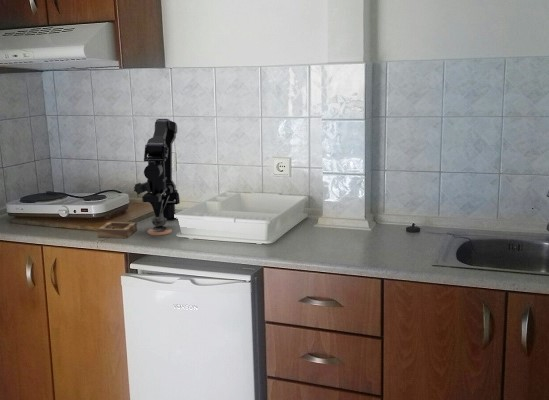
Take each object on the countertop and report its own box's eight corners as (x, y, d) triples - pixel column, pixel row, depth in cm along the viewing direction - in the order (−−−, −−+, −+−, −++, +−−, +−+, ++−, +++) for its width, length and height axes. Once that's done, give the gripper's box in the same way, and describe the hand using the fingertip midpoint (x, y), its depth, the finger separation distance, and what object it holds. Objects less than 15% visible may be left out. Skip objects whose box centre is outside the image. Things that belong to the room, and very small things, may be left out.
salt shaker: (165, 230, 230) (164, 199, 228) (150, 230, 231) (148, 199, 228) (168, 226, 236) (167, 195, 233) (153, 226, 236) (152, 195, 234)
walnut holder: (109, 229, 238) (109, 221, 237) (136, 230, 236) (136, 222, 236) (97, 237, 227) (97, 229, 226) (126, 238, 226) (126, 230, 225)
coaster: (152, 228, 238) (151, 227, 238) (174, 229, 237) (174, 227, 237) (144, 234, 230) (144, 233, 230) (167, 235, 229) (167, 234, 228)
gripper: (144, 170, 239) (146, 209, 242) (127, 179, 221) (129, 221, 224) (172, 170, 237) (174, 210, 241) (157, 180, 219) (159, 222, 223)
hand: (158, 215), depth 232 cm, fingers closed on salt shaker, 3 cm apart
